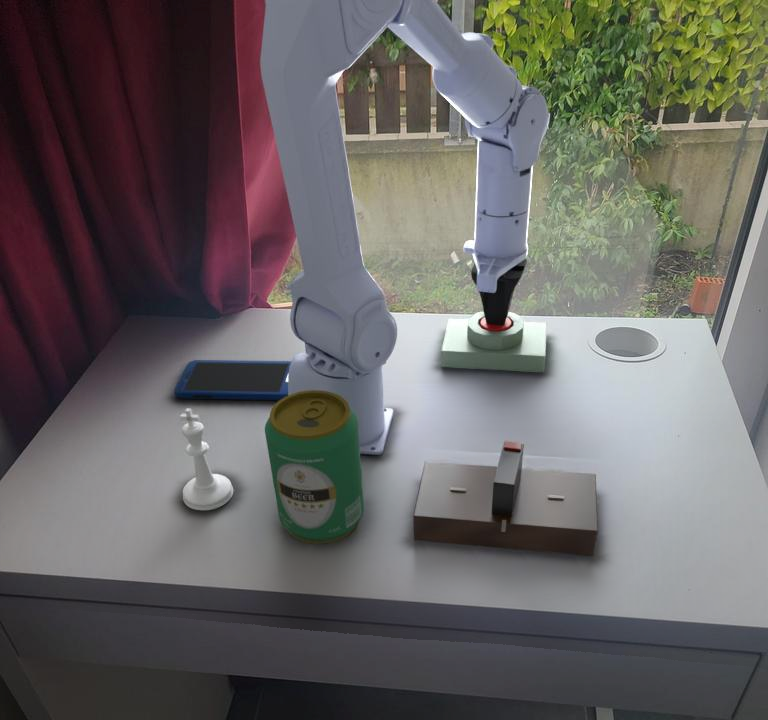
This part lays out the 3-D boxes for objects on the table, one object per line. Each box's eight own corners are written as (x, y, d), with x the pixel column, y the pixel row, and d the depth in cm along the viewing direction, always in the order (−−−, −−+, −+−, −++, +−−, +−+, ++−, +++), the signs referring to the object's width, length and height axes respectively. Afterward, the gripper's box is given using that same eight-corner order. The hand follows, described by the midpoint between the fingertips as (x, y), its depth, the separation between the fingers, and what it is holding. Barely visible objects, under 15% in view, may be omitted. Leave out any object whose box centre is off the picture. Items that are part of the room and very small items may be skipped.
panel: (411, 548, 73) (411, 522, 71) (426, 478, 81) (426, 452, 79) (593, 565, 71) (598, 538, 69) (591, 490, 78) (595, 464, 76)
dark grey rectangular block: (511, 516, 71) (514, 482, 69) (491, 513, 72) (493, 479, 69) (521, 474, 76) (524, 441, 73) (501, 472, 76) (504, 439, 74)
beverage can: (268, 540, 75) (248, 434, 67) (295, 486, 81) (280, 382, 73) (351, 552, 73) (342, 445, 65) (373, 496, 79) (367, 391, 71)
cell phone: (292, 400, 92) (291, 395, 91) (172, 398, 93) (171, 393, 93) (303, 366, 97) (302, 360, 97) (190, 365, 99) (188, 359, 98)
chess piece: (223, 513, 78) (203, 427, 71) (175, 507, 79) (151, 423, 72) (240, 481, 82) (223, 396, 75) (194, 476, 82) (173, 392, 76)
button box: (440, 367, 96) (441, 337, 94) (448, 333, 102) (448, 304, 100) (543, 372, 94) (546, 342, 92) (545, 338, 100) (548, 308, 98)
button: (478, 342, 96) (479, 328, 95) (481, 327, 98) (481, 314, 97) (509, 343, 95) (510, 330, 94) (511, 328, 98) (512, 315, 97)
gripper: (480, 180, 93) (476, 291, 102) (449, 230, 83) (447, 348, 92) (542, 184, 91) (532, 296, 100) (518, 236, 81) (509, 356, 90)
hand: (496, 322), depth 96 cm, fingers closed, pressing on button
